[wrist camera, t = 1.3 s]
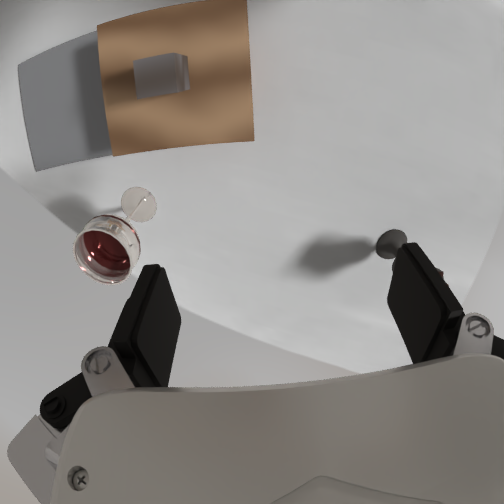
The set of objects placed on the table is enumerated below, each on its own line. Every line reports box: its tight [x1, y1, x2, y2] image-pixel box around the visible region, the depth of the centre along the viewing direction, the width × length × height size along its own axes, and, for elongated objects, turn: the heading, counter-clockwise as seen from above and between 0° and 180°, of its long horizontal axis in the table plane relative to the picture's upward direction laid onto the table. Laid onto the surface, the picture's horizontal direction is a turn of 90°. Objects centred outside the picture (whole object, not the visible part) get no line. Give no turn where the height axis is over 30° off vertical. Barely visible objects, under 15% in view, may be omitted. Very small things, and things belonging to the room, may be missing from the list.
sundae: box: [377, 230, 449, 287], centre depth 34 cm, size 7×7×15 cm
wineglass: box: [73, 187, 157, 285], centre depth 31 cm, size 7×7×12 cm
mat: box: [18, 31, 113, 172], centre depth 28 cm, size 16×14×1 cm
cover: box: [97, 0, 254, 157], centre depth 21 cm, size 14×14×6 cm
